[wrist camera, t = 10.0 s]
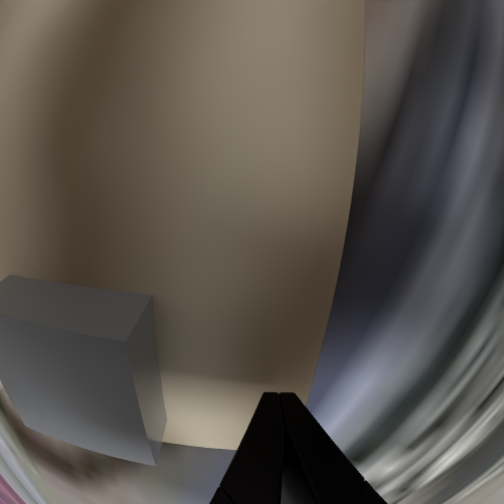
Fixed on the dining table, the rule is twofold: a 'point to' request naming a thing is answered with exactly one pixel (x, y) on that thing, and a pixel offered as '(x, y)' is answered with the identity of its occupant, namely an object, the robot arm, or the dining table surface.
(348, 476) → the robot arm
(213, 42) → the birch board
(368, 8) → the dining table surface
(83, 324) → the slate tile
